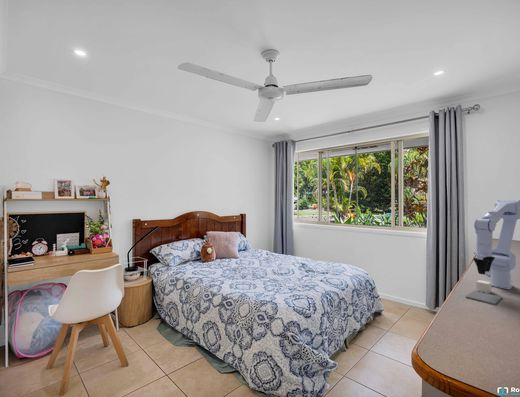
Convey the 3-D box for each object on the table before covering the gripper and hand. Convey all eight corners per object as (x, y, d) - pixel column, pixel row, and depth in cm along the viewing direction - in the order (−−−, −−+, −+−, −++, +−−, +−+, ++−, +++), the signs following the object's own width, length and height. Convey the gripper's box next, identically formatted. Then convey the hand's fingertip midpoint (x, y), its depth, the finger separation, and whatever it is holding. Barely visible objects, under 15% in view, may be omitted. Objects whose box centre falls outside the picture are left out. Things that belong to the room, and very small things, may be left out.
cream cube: (479, 289, 132) (479, 279, 131) (491, 291, 128) (491, 282, 128) (476, 291, 129) (476, 281, 129) (488, 293, 125) (488, 284, 125)
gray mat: (474, 291, 127) (474, 290, 127) (502, 298, 119) (502, 296, 119) (465, 297, 120) (465, 296, 120) (494, 304, 112) (494, 303, 112)
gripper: (478, 241, 136) (478, 268, 136) (469, 244, 127) (468, 273, 127) (496, 243, 130) (496, 271, 130) (488, 246, 121) (487, 276, 121)
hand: (483, 272), depth 128 cm, fingers open, 7 cm apart
